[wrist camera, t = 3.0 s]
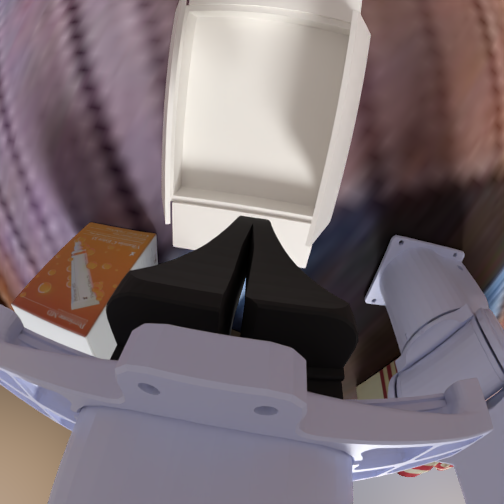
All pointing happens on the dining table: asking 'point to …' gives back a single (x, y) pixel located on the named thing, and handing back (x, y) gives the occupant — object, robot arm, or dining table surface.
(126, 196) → the dining table surface
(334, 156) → the flap
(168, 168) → the flap
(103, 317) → the small box
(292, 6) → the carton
